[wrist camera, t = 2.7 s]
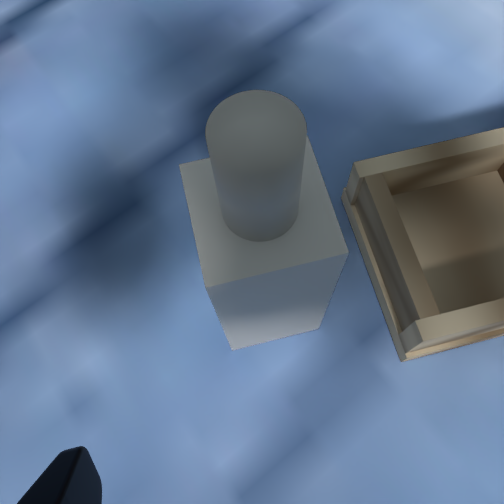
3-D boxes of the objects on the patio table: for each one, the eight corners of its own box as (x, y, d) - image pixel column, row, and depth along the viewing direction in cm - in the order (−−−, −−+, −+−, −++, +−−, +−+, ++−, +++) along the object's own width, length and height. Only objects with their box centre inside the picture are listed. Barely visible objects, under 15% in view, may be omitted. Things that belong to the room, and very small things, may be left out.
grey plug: (318, 328, 21) (374, 186, 9) (232, 350, 21) (182, 232, 9) (294, 249, 22) (317, 43, 11) (213, 269, 22) (150, 80, 11)
